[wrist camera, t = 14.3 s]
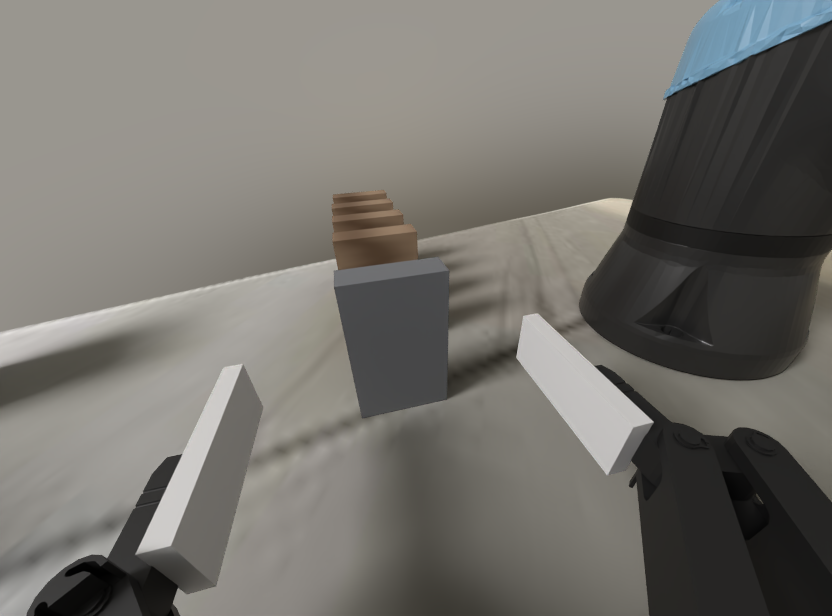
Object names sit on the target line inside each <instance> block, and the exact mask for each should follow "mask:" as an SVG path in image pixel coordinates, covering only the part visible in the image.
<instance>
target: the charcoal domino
mask: <svg viewBox="0 0 832 616" xmlns="http://www.w3.org/2000/svg"><path fill="white" fill-rule="evenodd" d="M334 289H335V294H336V298H337V303H338V308H339V312H340V317H341V322H342V326H343V331H344V336H345V340H346V345H347V350H348V355H349V359H350V364H351V369H352V373H353V378H354V383H355V387H356V392H357V397H358V401H359V406H360V411H361V415H362V418H366V417H370V416H375V415H379V414H384V413H388V412H393V411H397V410H402V409H406V408H411V407H415V406H420V405H424V404H429V403H433V402H438V401H442V400H447V372H448V313H449V270H448V268H447V267H446V266H445V265H444V263H443V262H442V261H441V260H440V258H439V257H433V258H425V259H418V260H411V261H403V262H396V263H388V264H381V265H373V266H366V267H358V268H351V269H344V270H336V271H334Z"/></svg>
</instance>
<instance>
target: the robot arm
mask: <svg viewBox="0 0 832 616" xmlns="http://www.w3.org/2000/svg"><path fill="white" fill-rule="evenodd" d="M666 99H667V101H666V104H665V107H664V110H663V113H662V116H661V119H660V122H659V125H658V129H657V132H656V134H655V137H654V141H653V143H652V147H651V149H650V152H649V155H648V158H647V161H646V164H645V167H644V170H643V173H642V176H641V179H640V181H639V184H638V187H637V190H636V193H635V196H634V199H633V202H632V206H631V208H630V211H629V214H628V217H627V221H626V223H625V226H624V229H623V231H622V232H621V234H620V235H619V237H618V238H617V239H616V241H615V242H614V244H613V245H612V247H611V248H610V249H609V251H608V252H607V254H606V255H605V257H604V258H603V260H602V261H601V263H600V264H599V266H598V267H597V269H596V270H595V271H594V272H593V273H592V274H591V275H590V276H589V277H588V279H587V280H586V282H585V285H584V288H583V291H582V295H581V298H580V302H579V308H580V312H581V314H582V316H583V317H584V319H585V320H586V322H587V323H588V324H589V325H590V326H591V327H592V328H593V329H594V330H595V331H596V332H598V333H599V334H600V335H602V336H603V337H604V338H606V339H607V340H609V341H610V342H612V343H613V344H615V345H617V346H619V347H620V348H622V349H624V350H626V351H628V352H630V353H632V354H634V355H637V356H639V357H641V358H644V359H646V360H649V361H651V362H654V363H657V364H660V365H663V366H666V367H669V368H672V369H676V370H679V371H683V372H687V373H691V374H696V375H701V376H707V377H713V378H722V379H735V380H749V379H760V378H766V377H770V376H774V375H776V374H779V373H780V372H782V371H784V370H785V369H786V368H787V367H788V366H789V364H790V363H791V362H792V361H793V360H794V358H795V357H796V356H797V355H798V353H799V352H800V351H801V350H802V349H803V347H804V346H805V344H806V342H807V340H808V335H809V325H810V321H811V317H812V313H813V308H814V303H815V298H816V293H817V287H818V281H819V276H820V270H821V266H822V264H823V262H824V259H825V258H826V257H827V255H828V254H829V252H830V251H831V250H832V0H720V1H719V2H717V3H716V4H715V5H714V6H712V7H711V8H710V9H709V10H708V11H707V12H706V13H705V14H704V16H703V17H702V18H701V19H700V20H699V22H698V23H697V24H696V26H695V27H694V29H693V31H692V33H691V35H690V37H689V39H688V42H687V44H686V47H685V49H684V52H683V54H682V57H681V60H680V62H679V65H678V68H677V70H676V73H675V76H674V78H673V81H672V83H671V87H670V88H669V89H668V90H666V92H665V94H664V98H663V100H666ZM516 358H517V359H518V361H519V362H520V363H521V364H522V366H523V367H524V368H525V370H526V371H527V372H528V374H529V375H530V376H531V377H532V379H533V380H534V381H535V383H536V384H537V385H538V386H539V388H540V389H541V390H542V392H543V393H544V394H545V395H546V397H547V398H548V399H549V401H550V402H551V403H552V405H553V406H554V407H555V408H556V410H557V411H558V412H559V414H560V415H561V416H562V417H563V419H564V420H565V421H566V423H567V424H568V425H569V426H570V428H571V429H572V430H573V432H574V433H575V434H576V436H577V437H578V438H579V439H580V441H581V442H582V443H583V445H584V446H585V447H586V448H587V450H588V451H589V452H590V454H591V455H592V456H593V457H594V459H595V460H596V461H597V463H598V464H599V465H600V467H601V468H602V469H603V470H604V472H605V473H606V474H607V476H608V475H611V474H615V473H618V472H622V471H625V470H626V469H627V467H628V465H629V464H630V462H631V461H632V462H633V463H634V464H635V465H636V466H637V468H638V469H637V471H636V472H635V474H634V475H633V477H632V479H631V480H630V483H629V487H631V488H633V486H634V485H635V483H636V482H637V491H638V501H639V512H640V522H641V533H642V543H643V553H644V564H645V574H646V585H647V595H648V606H649V616H832V502H831V501H830V500H829V499H828V497H827V496H826V495H825V494H824V493H823V492H822V490H821V489H820V488H819V487H818V486H817V485H816V483H815V482H814V481H813V480H812V479H811V478H810V476H809V475H808V474H807V473H806V472H805V471H804V469H803V468H802V467H801V466H800V465H799V464H798V462H797V461H796V460H795V459H794V458H793V456H792V455H791V454H790V453H789V452H788V451H787V449H785V448H784V447H783V446H782V445H781V444H780V443H779V442H778V441H776V440H775V439H773V438H771V437H770V436H768V435H766V434H764V433H762V432H760V431H757V430H754V429H750V428H737V429H735V430H733V431H732V433H731V434H730V435H729V436H728V437H724V436H711V435H703V434H702V433H700V432H698V431H697V430H695V429H694V428H692V427H689V426H687V425H684V424H679V423H672V422H671V421H669V420H668V419H667V418H666V417H665V416H663V415H662V414H661V413H660V412H659V411H658V410H657V409H656V408H654V407H653V406H652V405H651V404H650V403H649V402H648V401H646V400H645V399H644V398H643V397H642V396H641V395H640V394H639V393H637V392H636V391H634V389H633V388H632V387H631V386H630V385H628V384H626V383H625V381H624V380H623V379H622V378H621V377H619V376H618V375H617V374H616V373H615V372H613V371H611V370H610V369H608V368H606V367H604V366H602V365H598V366H593V365H592V364H591V363H590V362H589V361H588V360H587V359H586V358H585V357H584V356H583V355H581V354H580V353H579V352H578V351H577V350H576V349H575V348H574V347H573V346H572V345H571V344H570V343H569V342H568V341H566V340H565V339H564V338H563V337H562V336H561V335H560V334H559V333H558V332H557V331H556V330H555V329H554V328H553V327H552V326H550V325H549V324H548V323H547V322H546V321H545V320H544V319H543V318H542V317H541V316H540V315H539V314H538V313H537V314H531V315H525V316H523V322H522V328H521V333H520V339H519V345H518V350H517V356H516ZM262 410H263V406H262V404H261V401H260V399H259V397H258V395H257V393H256V391H255V389H254V386H253V384H252V382H251V380H250V378H249V376H248V374H247V372H246V369H245V367H244V365H243V364H240V365H234V366H228V367H223V370H222V372H221V374H220V376H219V378H218V380H217V382H216V384H215V387H214V389H213V391H212V393H211V395H210V397H209V399H208V401H207V404H206V406H205V408H204V410H203V412H202V414H201V416H200V418H199V421H198V423H197V425H196V427H195V429H194V431H193V433H192V435H191V438H190V440H189V442H188V444H187V446H186V448H185V450H184V452H183V454H181V455H176V456H171V457H167V458H166V459H165V460H164V461H163V463H162V464H161V465H160V466H159V467H158V468H157V469H156V470H155V471H154V472H153V474H152V475H151V477H150V479H149V481H148V483H147V485H146V487H145V489H144V490H143V494H141V496H140V498H139V500H138V502H137V504H136V505H135V506H136V508H135V509H133V511H132V513H131V515H130V517H129V519H128V521H127V522H126V524H125V526H124V528H123V530H122V532H121V534H120V536H119V537H118V539H117V541H116V543H115V545H114V547H113V549H112V551H111V552H110V554H109V556H108V558H105V557H104V556H102V555H90V556H87V557H84V558H81V559H78V560H77V561H75V562H74V563H72V564H70V565H69V566H67V567H65V568H64V569H63V570H61V571H60V572H59V573H58V574H57V575H56V576H55V577H53V578H52V579H51V580H50V581H49V582H48V583H47V584H46V585H45V587H44V588H43V589H42V590H41V591H40V592H39V594H38V595H37V596H36V597H35V599H34V601H33V603H32V605H31V606H30V608H29V610H28V612H27V616H180V615H179V612H178V610H177V608H176V607H175V606H174V605H173V604H172V603H173V600H174V597H175V595H176V592H177V589H178V588H180V589H181V590H182V591H183V592H185V593H186V594H190V593H194V592H197V591H201V590H204V589H208V588H211V587H215V586H216V585H217V581H218V577H219V573H220V570H221V566H222V562H223V558H224V554H225V551H226V547H227V543H228V539H229V535H230V532H231V528H232V524H233V520H234V516H235V513H236V509H237V505H238V501H239V497H240V494H241V490H242V486H243V482H244V478H245V475H246V471H247V467H248V463H249V459H250V456H251V452H252V448H253V444H254V440H255V437H256V433H257V429H258V425H259V421H260V418H261V414H262ZM756 494H758V496H759V497H760V499H761V500H762V502H763V503H764V504H762V503H761V502H760V501H759V500H758V498H757V497H756Z"/></svg>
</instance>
